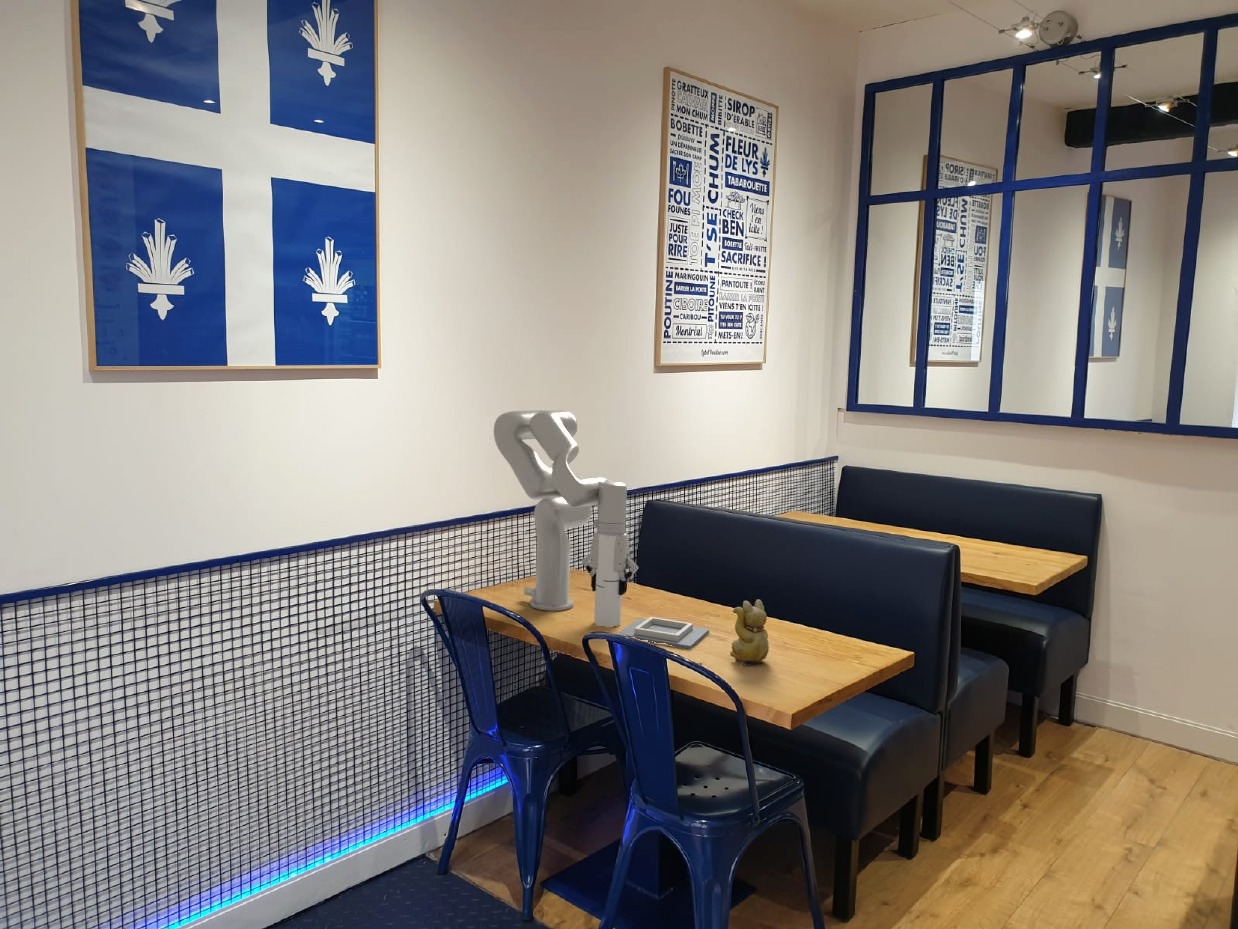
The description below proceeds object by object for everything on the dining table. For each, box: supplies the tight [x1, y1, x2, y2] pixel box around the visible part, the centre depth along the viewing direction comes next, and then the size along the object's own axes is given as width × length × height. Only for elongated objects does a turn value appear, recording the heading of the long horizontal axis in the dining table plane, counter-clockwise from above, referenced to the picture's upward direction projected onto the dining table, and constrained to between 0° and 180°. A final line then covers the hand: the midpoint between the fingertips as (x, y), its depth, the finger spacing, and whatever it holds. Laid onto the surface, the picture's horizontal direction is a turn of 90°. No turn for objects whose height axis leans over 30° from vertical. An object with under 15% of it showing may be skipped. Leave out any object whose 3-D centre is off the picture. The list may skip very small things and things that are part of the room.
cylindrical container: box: [593, 534, 623, 628], centre depth 254 cm, size 7×7×25 cm
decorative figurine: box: [729, 599, 770, 666], centre depth 228 cm, size 10×8×15 cm
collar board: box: [618, 616, 710, 651], centre depth 247 cm, size 20×16×2 cm
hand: (608, 591), depth 254 cm, fingers closed on cylindrical container, 7 cm apart
